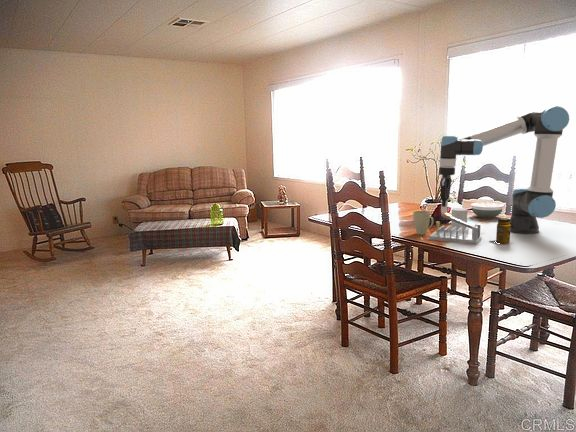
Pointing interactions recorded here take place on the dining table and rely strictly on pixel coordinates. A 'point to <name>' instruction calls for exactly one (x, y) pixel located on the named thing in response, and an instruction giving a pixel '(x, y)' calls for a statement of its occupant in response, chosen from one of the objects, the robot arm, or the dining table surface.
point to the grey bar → (458, 220)
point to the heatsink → (456, 234)
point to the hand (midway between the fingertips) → (443, 212)
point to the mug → (422, 221)
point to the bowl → (487, 209)
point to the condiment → (503, 231)
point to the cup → (459, 217)
